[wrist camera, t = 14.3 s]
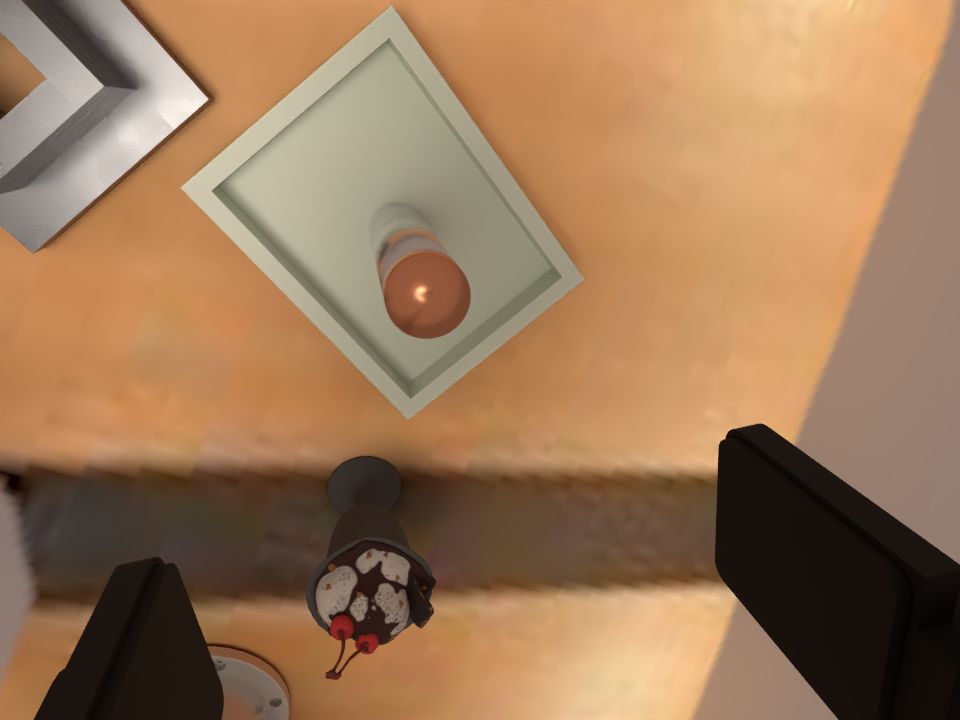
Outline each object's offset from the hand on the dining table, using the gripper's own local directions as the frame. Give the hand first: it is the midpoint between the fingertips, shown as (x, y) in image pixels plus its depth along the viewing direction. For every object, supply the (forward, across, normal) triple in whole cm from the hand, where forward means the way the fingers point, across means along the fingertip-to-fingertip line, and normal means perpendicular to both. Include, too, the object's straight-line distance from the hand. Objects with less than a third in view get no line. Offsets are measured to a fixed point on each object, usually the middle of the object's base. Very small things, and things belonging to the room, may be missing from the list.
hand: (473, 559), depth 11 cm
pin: (+28, -1, -1) cm, 28 cm away
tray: (+28, -1, -1) cm, 29 cm away
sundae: (+29, +4, +16) cm, 33 cm away
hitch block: (+28, +15, -11) cm, 34 cm away
